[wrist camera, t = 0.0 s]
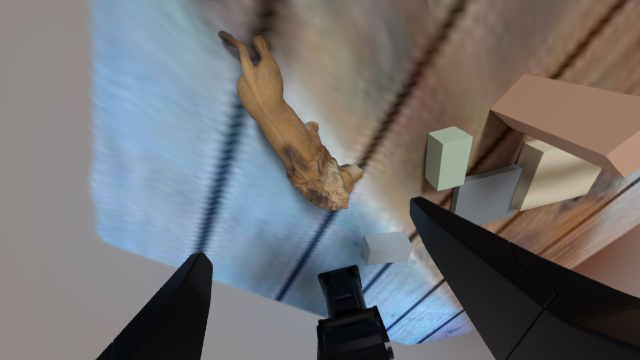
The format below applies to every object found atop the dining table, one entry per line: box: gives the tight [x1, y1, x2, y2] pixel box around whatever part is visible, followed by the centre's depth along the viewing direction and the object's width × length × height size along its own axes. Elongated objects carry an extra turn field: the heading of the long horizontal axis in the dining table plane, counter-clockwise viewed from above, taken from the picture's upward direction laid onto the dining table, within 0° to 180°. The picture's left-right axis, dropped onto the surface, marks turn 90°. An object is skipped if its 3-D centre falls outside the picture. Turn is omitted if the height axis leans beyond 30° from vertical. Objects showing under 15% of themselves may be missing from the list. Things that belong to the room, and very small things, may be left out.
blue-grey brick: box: [361, 232, 413, 265], centre depth 33 cm, size 6×3×3 cm, turn 88°
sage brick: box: [425, 126, 473, 191], centre depth 25 cm, size 6×3×3 cm, turn 12°
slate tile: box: [450, 164, 524, 226], centre depth 31 cm, size 9×9×1 cm
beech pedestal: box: [511, 139, 602, 211], centre depth 29 cm, size 9×9×2 cm
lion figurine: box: [218, 31, 363, 210], centre depth 18 cm, size 15×5×9 cm, turn 37°
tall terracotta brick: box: [490, 74, 640, 178], centre depth 20 cm, size 4×4×10 cm
